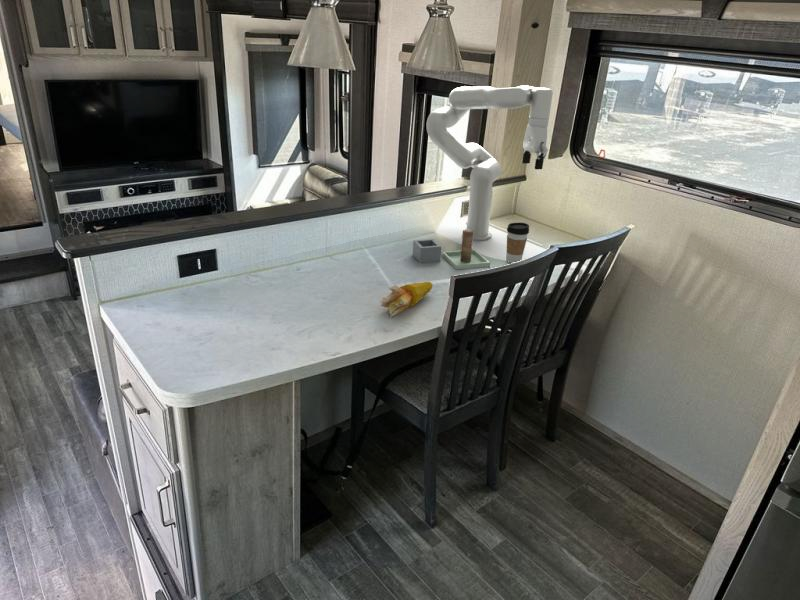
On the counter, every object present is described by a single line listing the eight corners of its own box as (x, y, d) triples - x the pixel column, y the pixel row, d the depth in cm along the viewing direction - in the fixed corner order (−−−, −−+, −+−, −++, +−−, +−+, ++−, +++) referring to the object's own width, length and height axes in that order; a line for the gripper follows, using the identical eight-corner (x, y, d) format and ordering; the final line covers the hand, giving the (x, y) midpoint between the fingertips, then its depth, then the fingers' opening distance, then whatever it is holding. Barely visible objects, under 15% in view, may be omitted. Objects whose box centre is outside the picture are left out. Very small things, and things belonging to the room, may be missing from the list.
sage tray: (441, 257, 227) (442, 251, 226) (474, 255, 232) (474, 249, 230) (455, 271, 216) (456, 265, 214) (489, 268, 220) (490, 262, 219)
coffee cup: (526, 265, 224) (531, 228, 217) (504, 264, 224) (509, 227, 217) (522, 257, 232) (527, 221, 225) (501, 256, 232) (506, 220, 225)
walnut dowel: (458, 259, 224) (461, 230, 219) (468, 258, 225) (470, 229, 220) (462, 263, 221) (465, 233, 215) (472, 262, 222) (475, 232, 217)
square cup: (412, 257, 227) (413, 240, 224) (432, 255, 229) (433, 238, 226) (419, 265, 220) (420, 248, 217) (440, 263, 222) (441, 246, 219)
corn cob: (430, 304, 199) (387, 322, 179) (414, 288, 201) (371, 304, 181) (442, 287, 194) (400, 304, 174) (426, 271, 196) (383, 286, 177)
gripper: (518, 118, 229) (513, 161, 236) (541, 126, 214) (534, 171, 222) (535, 118, 231) (529, 160, 239) (558, 125, 216) (551, 171, 224)
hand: (532, 166), depth 230 cm, fingers open, 9 cm apart
